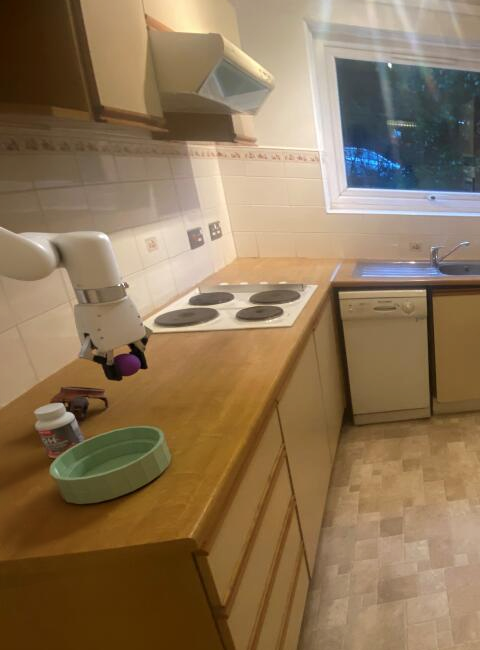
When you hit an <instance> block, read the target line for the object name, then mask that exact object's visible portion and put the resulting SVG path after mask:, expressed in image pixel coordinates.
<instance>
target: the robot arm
mask: <svg viewBox="0 0 480 650" xmlns="http://www.w3.org/2000/svg"><path fill="white" fill-rule="evenodd" d="M57 269H65V271H66V272H67V273H66V274H67V276H68V278H69V282H70V284H71V287H72V290H73V292H74V295H75V298H76V301H77V304H74V305H73V315H74V324H75V327H76V331H77V335H78V339H79V342H80V346H81V347H80V350H79V352H78V355H77V357H78V358H79V359H83V360H86V361H87V360H88V361H91V362H94V363H97V364H98V365H101V368H102V371H103V373H104V377H106V379H107V380H108V381H114V382H121V381H123V376H122V375H121V372H120V369H119V366H118V364H117V363H114V357H115V355H114V352H115V351H114V350H117V349H120V348H122V347H124V346H127V347H128V348H129V350H130V351H128V354H132V355H135V356H136V357H137V358H138V359H139V360H140V363H141V366H140V369H139V370H147V369H149V366H148V361H147V359H146V356H145V352H146V350H147V348H146V346H147V344H148V343H149V339H150V338H151V336H152V335H153V333H154V330H152V329H151V328H150V327H148V326H146V325H145V323H144V322H143V319H142V316H141V314H140V311H139V309H138V307H137V305H136V303H135V302H134V300H133V298H132V297H131V296H130V295H128V294H127V291H126V290H127V289H129V288H130V285H129V283H128V282H124V281H123V277H122V275H121V272H120V268H119V265H118V262H117V259H116V255H115V253H114V250H113V246H112V243H111V241H110V238H109V236H108V235H107V234H106V233H104V232H102V231H97V230H80V231H79V230H77V231H69V232H65V233H63V232H61V233H59V232H58V233H57V232H36V231H34V232H33V231H30V232H29V231H27V232H20V233H15V232H13V231H11V230H8V229H7V228H4V227H2V226H0V276H3V277H5V278H8V279H12V280H15V281H21V282H36V281H41V280H44V279H46V278H48V277H49V276H51V275H52V274H53V273H54V272H55V270H57ZM94 350H95V352H96V353H95V354H94V353H93V351H94Z"/></svg>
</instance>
